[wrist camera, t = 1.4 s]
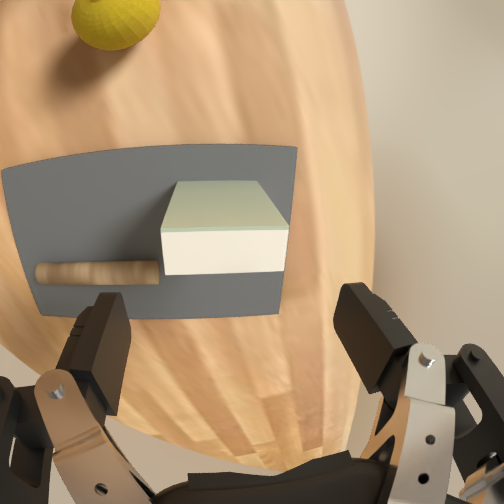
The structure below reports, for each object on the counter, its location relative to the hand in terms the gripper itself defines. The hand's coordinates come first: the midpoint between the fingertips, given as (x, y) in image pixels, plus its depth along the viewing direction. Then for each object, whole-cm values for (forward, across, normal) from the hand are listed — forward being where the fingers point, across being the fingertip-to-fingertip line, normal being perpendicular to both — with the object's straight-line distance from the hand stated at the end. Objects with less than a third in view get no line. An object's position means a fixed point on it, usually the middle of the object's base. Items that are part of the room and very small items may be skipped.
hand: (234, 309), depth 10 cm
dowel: (+14, +11, +6) cm, 19 cm away
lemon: (+14, +7, -14) cm, 21 cm away
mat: (+14, +7, +4) cm, 16 cm away
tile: (+13, 0, 0) cm, 13 cm away
